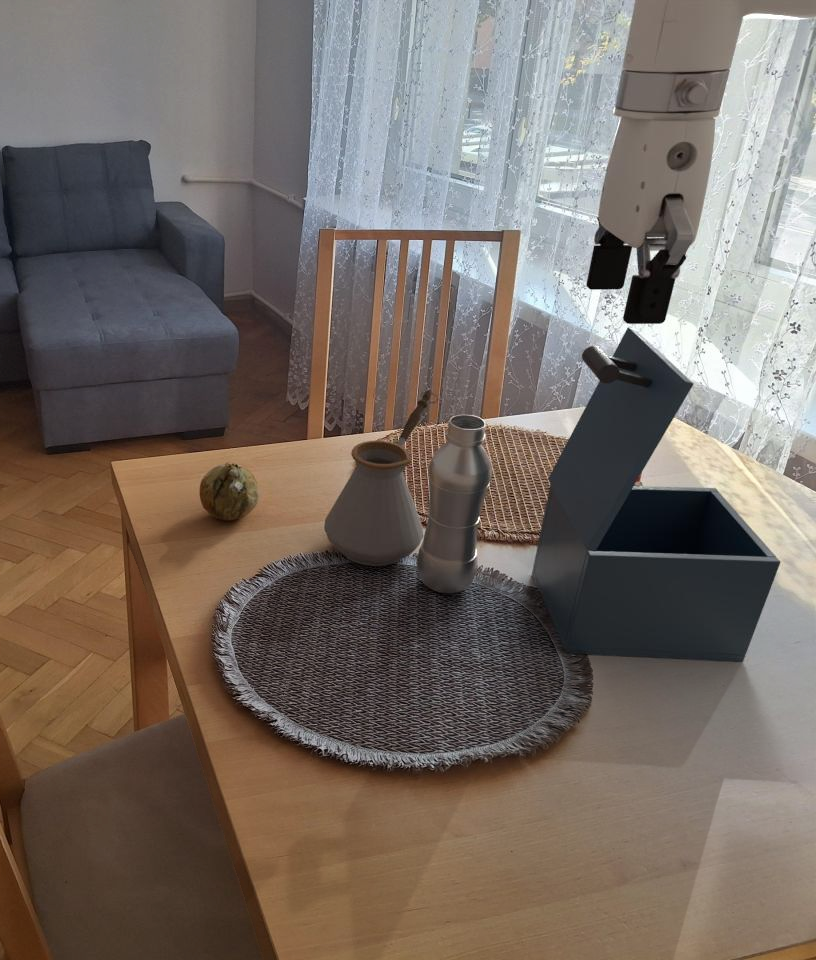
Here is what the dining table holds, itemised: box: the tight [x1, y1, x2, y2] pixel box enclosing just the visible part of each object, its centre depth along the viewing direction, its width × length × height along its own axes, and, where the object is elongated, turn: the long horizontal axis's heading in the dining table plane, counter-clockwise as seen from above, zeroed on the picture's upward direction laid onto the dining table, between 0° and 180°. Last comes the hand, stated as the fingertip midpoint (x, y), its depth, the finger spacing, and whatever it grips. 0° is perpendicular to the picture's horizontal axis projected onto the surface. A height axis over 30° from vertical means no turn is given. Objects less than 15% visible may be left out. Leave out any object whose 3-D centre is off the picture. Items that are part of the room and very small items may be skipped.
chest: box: [531, 483, 781, 662], centre depth 87 cm, size 17×14×12 cm
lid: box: [547, 326, 695, 552], centre depth 81 cm, size 18×14×6 cm
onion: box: [199, 461, 260, 522], centre depth 109 cm, size 8×8×8 cm
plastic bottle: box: [416, 414, 494, 594], centre depth 91 cm, size 6×7×20 cm
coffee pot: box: [323, 389, 439, 567], centre depth 103 cm, size 21×12×15 cm, turn 145°
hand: (622, 304), depth 76 cm, fingers open, 9 cm apart
